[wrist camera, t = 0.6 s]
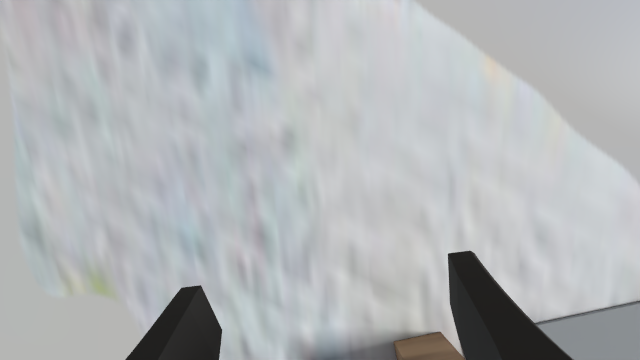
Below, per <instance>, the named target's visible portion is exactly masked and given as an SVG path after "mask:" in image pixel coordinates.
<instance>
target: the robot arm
mask: <svg viewBox="0 0 640 360" xmlns="http://www.w3.org/2000/svg"><path fill="white" fill-rule="evenodd" d="M448 266H449V290H450V305H451V309H452V313H453V317H454V322H455V326H456V329H457V333H458V337H459V340H460V343H461V346H462V349H463V351H464V354H465V357H466V360H574V359H572V358H571V357H570V356H569V355H568V354H567V353H566V352H564V351H563V350H562V349H561V348H560V347H559V346H558V345H557V344H556V343H554V342H553V341H552V340H551V339H550V338H549V337H548V336H547V335H546V334H545V333H544V332H543V331H542V330H541V329H540V328H539V327H538V326H537V325H536V324H535V323H534V322H533V321H532V320H531V319H530V318H529V317H528V316H527V315H526V314H525V313H524V312H523V311H522V310H521V309H520V308H519V307H518V306H517V305H516V303H515V302H514V301H513V300H512V299H511V298H510V297H509V296H508V295H507V294H506V292H505V291H504V290H503V289H502V288H501V287H500V286H499V284H498V283H497V282H496V281H495V280H494V278H493V277H492V276H491V275H490V273H489V272H488V271H487V270H486V268H485V267H484V266H483V265H482V263H481V262H480V261H479V259H478V258H477V256H476V255H475V254H474V253H473V252H472V251H465V252H457V253H449V254H448ZM221 336H222V329H221V327H220V325H219V323H218V320H217V318H216V316H215V314H214V312H213V310H212V308H211V306H210V304H209V301H208V299H207V297H206V295H205V293H204V291H203V289H202V287H201V285H200V286H192V287H185V288H181V289H180V290H179V292H178V293H177V294H176V295H175V297H174V298H173V299H172V301H171V302H170V303H169V305H168V306H167V307H166V309H165V310H164V311H163V313H162V314H161V315H160V317H159V318H158V319H157V320H156V322H155V323H154V324H153V326H152V327H151V328H150V330H149V331H148V332H147V333H146V335H145V336H144V337H143V339H142V340H141V341H140V342H139V344H138V345H137V346H136V347H135V349H134V350H133V352H131V354H130V355H129V356H128V357H127V358H126V360H219V354H220V345H221Z"/></svg>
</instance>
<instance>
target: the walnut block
mask: <svg viewBox="0 0 640 360" xmlns="http://www.w3.org/2000/svg"><path fill="white" fill-rule="evenodd" d="M394 346H395V351H396V357H397V360H465V359H464V358H463V356H462V355H461V354H460V353H459V352H458V351H457V350H456V349H455V348H454V347H453V345H452V344H451V343H450V342H449V341H448V340H447V339H446V338H445V337H444V335H443V334H442V333H441V332H437V333H432V334H428V335H423V336H418V337H413V338H409V339H404V340H399V341H395V342H394Z"/></svg>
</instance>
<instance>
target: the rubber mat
mask: <svg viewBox="0 0 640 360" xmlns="http://www.w3.org/2000/svg"><path fill="white" fill-rule="evenodd" d="M536 325H537V326H538V327H539V328H540V329H541V330H542V331H543V332H544V333H545V334H546V335H547V336H548V337H549V338H550V339H551V340H552V341H553V342H554V343H556V344H557V345H558V346H559V347H560V348H561V349H562V350H563V351H564V352H566V353H567V354H568V355H569V356H570V357H571V358H572V359H574V360H640V301H639V302H635V303H630V304H625V305H621V306H616V307H611V308H607V309H602V310H597V311H593V312H588V313H583V314H579V315H574V316H569V317H565V318H560V319H555V320H551V321H546V322H541V323H537V324H536Z"/></svg>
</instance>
